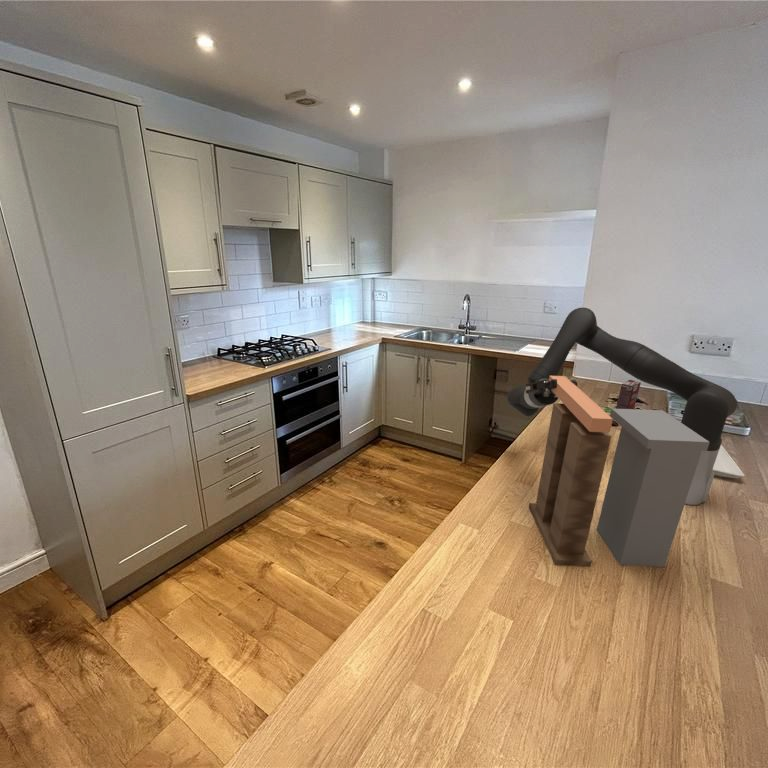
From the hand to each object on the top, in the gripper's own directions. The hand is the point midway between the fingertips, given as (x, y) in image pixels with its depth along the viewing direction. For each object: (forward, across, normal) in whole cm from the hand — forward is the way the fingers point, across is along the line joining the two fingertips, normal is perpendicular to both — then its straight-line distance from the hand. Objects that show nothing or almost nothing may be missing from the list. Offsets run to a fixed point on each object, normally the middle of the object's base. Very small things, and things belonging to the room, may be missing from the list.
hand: (565, 383), depth 102 cm
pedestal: (-7, +16, +38) cm, 42 cm away
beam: (+5, 0, +6) cm, 8 cm away
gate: (-8, 0, +37) cm, 38 cm away
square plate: (-47, +58, +15) cm, 76 cm away
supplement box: (-73, +53, 0) cm, 90 cm away
